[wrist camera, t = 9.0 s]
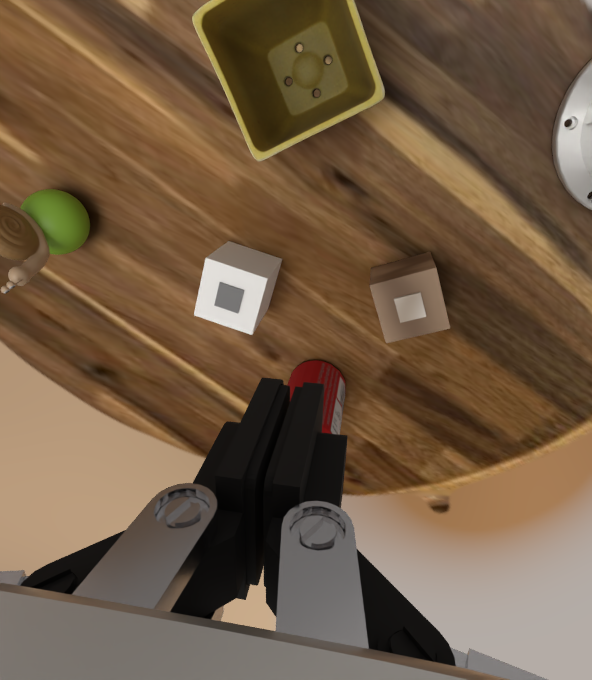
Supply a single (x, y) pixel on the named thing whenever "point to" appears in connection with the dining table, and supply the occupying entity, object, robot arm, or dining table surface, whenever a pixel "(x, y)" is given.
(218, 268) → the white block
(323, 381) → the soda can
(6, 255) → the snail figurine
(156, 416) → the dining table surface
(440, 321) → the walnut block
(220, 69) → the flower pot
